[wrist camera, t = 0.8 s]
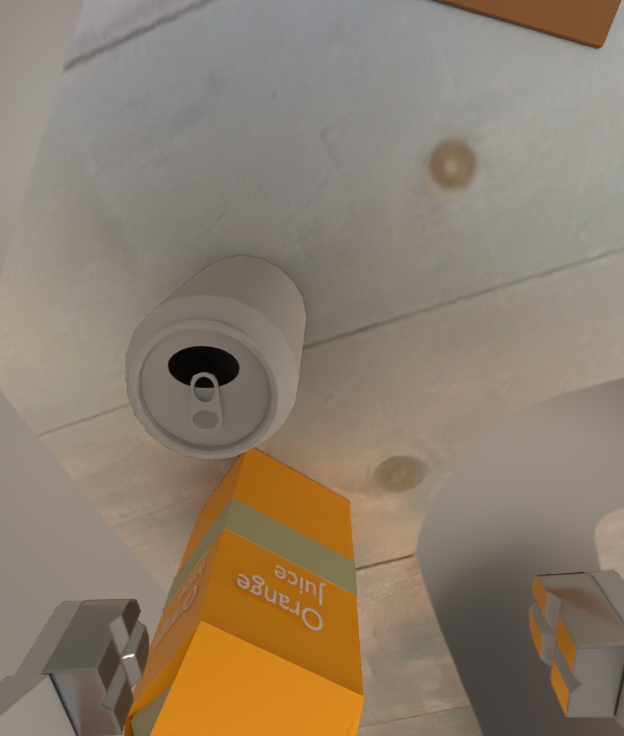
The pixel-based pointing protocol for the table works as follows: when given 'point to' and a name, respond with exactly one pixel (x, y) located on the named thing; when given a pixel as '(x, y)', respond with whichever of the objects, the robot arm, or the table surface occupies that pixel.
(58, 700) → the robot arm
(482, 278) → the table surface
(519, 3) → the mat
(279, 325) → the can
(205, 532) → the orange juice
